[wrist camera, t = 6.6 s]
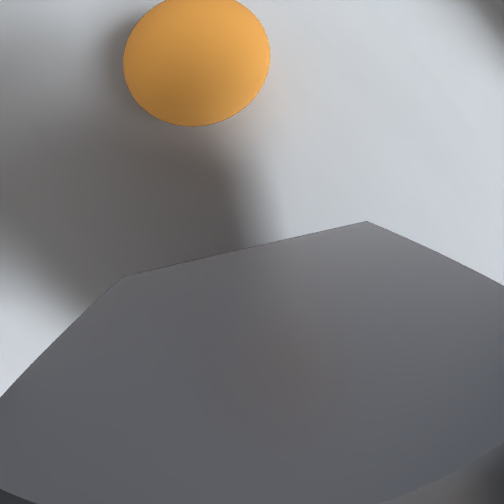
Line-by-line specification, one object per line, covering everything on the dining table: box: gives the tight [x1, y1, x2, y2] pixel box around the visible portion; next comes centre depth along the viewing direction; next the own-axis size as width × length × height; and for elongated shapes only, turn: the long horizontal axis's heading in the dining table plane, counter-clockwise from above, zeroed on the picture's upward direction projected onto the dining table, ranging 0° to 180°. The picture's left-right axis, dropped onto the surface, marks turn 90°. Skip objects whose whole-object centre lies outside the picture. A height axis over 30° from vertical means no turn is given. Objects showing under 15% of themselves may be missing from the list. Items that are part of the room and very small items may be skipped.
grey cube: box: [0, 221, 504, 504], centre depth 6 cm, size 8×8×8 cm
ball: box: [123, 0, 270, 127], centre depth 9 cm, size 5×5×5 cm
